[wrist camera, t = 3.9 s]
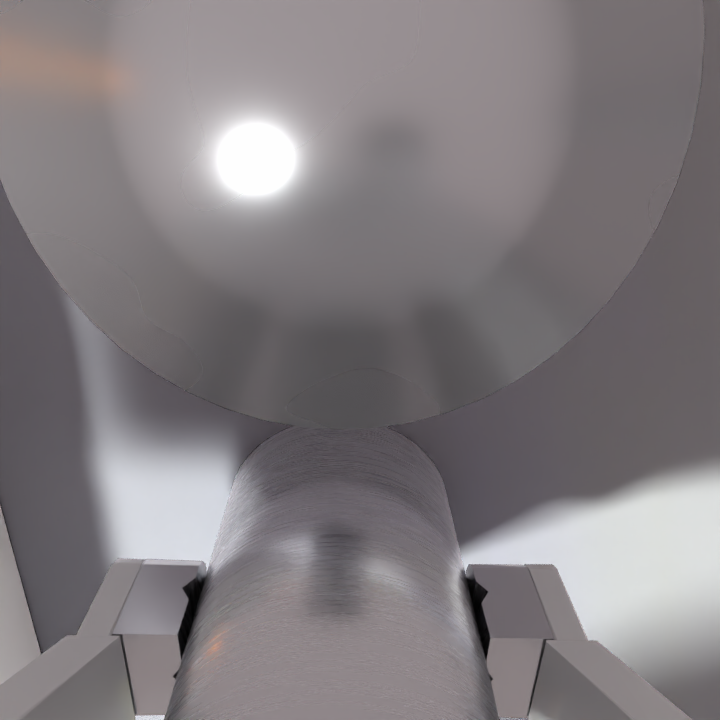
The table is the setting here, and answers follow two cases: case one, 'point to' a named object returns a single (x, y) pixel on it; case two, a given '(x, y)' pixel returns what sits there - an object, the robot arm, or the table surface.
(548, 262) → the cylinder
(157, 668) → the robot arm
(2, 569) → the white rimmed tray
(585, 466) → the table surface
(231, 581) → the cylinder
